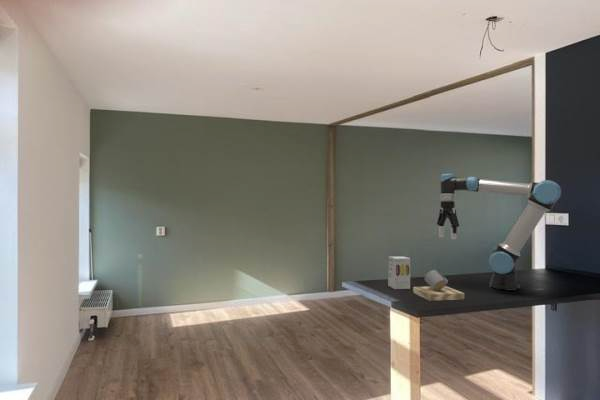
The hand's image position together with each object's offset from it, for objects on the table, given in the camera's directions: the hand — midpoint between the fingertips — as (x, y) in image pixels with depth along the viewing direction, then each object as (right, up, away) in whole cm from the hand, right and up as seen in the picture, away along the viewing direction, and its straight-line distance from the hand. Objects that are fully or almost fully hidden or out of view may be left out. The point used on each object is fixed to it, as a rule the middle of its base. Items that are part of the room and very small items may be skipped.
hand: (447, 238), depth 236 cm
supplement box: (-29, -27, -7) cm, 40 cm away
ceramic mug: (-15, -24, -27) cm, 39 cm away
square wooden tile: (-15, -27, -28) cm, 41 cm away
